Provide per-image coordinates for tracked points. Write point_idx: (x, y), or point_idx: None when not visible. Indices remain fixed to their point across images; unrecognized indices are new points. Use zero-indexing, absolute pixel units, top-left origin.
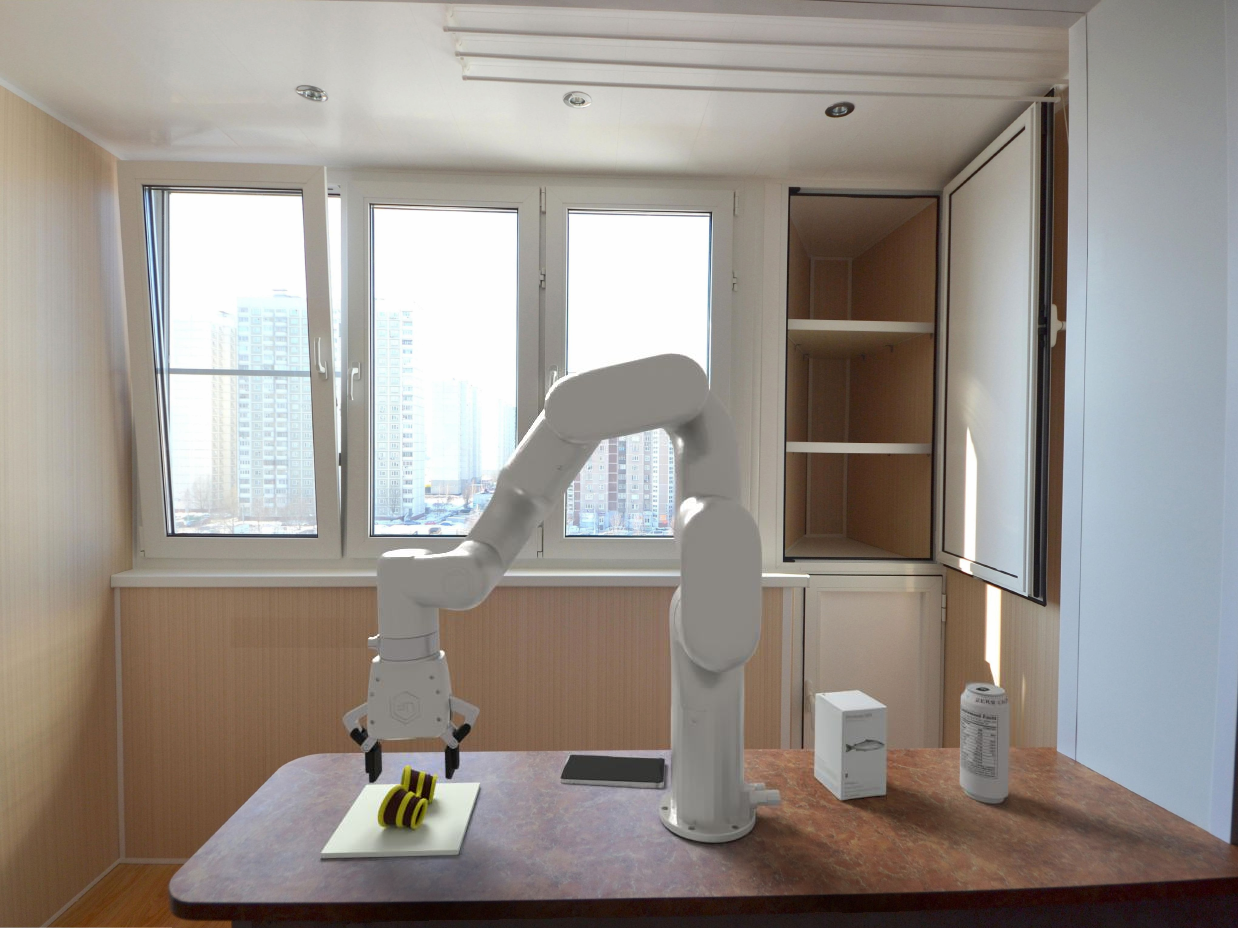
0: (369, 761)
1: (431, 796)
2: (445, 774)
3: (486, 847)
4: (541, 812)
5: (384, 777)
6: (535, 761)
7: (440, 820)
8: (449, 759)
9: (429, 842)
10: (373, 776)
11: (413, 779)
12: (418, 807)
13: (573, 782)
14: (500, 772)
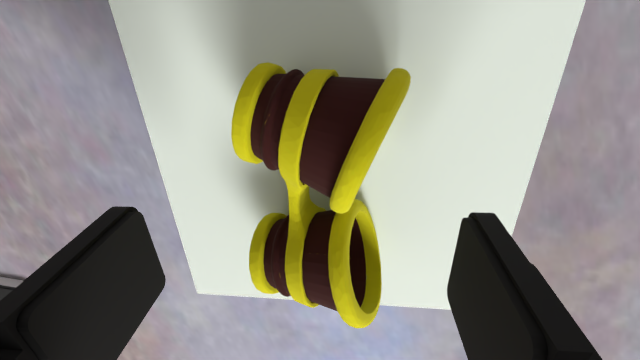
0: (544, 294)
1: (267, 217)
2: (125, 219)
3: (47, 9)
4: (5, 176)
5: (445, 339)
6: (128, 352)
7: (225, 136)
8: (43, 268)
9: (210, 10)
10: (480, 231)
11: (317, 260)
12: (242, 92)
13: (6, 279)
14: (181, 327)
